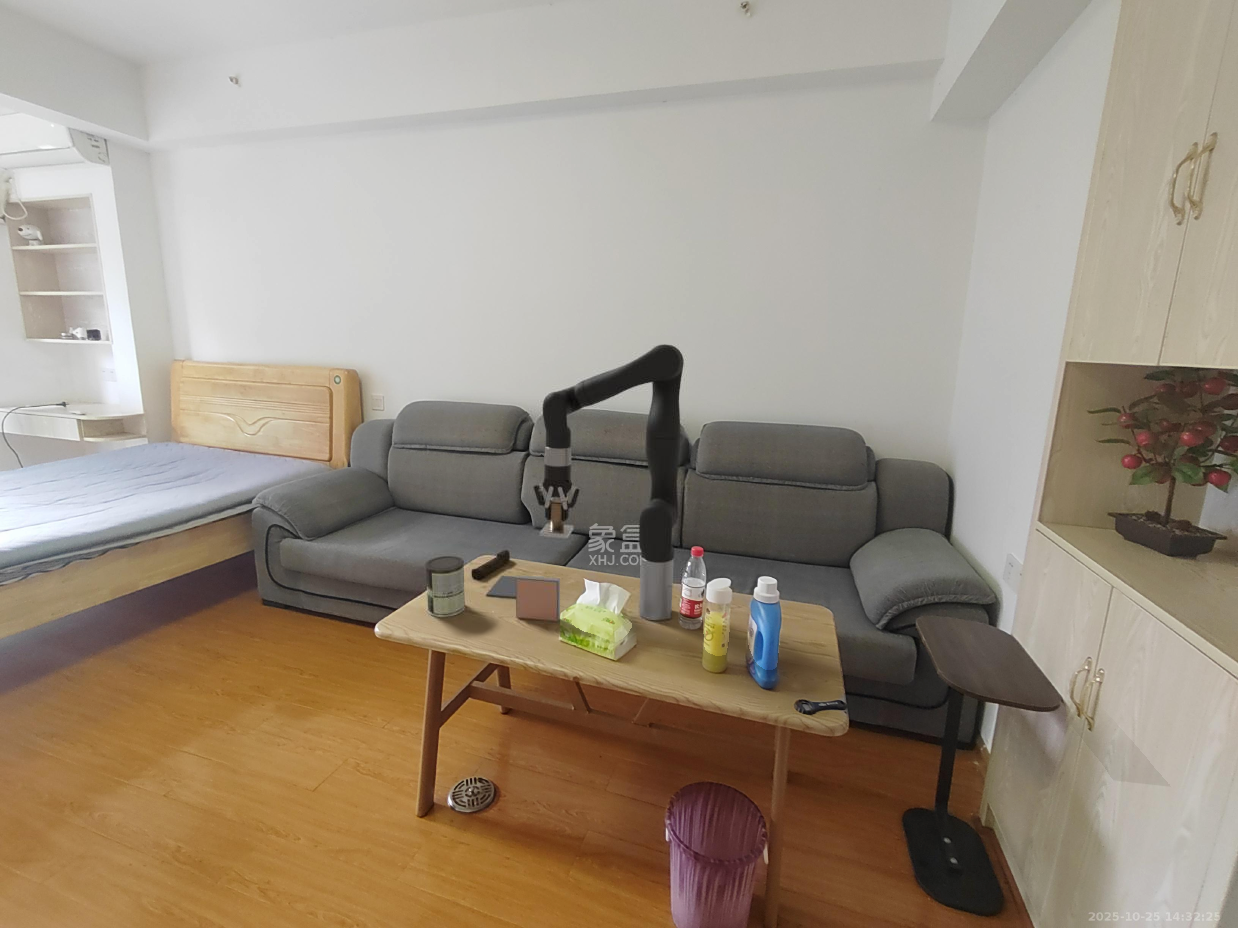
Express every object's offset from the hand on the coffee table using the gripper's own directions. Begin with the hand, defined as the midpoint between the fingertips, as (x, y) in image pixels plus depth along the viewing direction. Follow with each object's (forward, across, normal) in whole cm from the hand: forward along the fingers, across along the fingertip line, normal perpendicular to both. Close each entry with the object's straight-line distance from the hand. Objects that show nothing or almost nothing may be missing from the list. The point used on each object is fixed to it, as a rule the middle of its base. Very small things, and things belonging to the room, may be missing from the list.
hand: (556, 519), depth 160 cm
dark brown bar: (+26, +27, -18) cm, 41 cm away
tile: (+25, +2, +11) cm, 28 cm away
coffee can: (+26, +29, +12) cm, 40 cm away
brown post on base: (+4, 0, 0) cm, 4 cm away
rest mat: (+25, +14, -6) cm, 29 cm away
